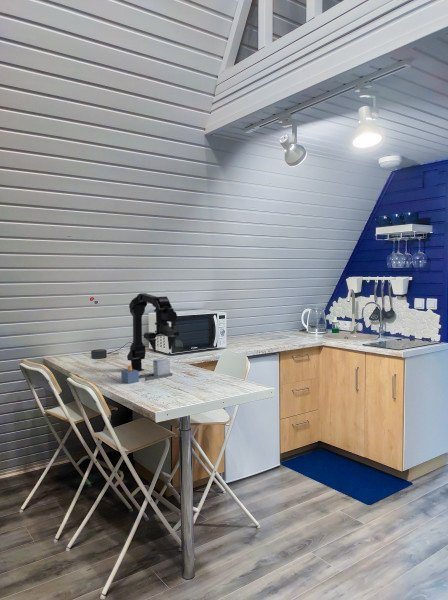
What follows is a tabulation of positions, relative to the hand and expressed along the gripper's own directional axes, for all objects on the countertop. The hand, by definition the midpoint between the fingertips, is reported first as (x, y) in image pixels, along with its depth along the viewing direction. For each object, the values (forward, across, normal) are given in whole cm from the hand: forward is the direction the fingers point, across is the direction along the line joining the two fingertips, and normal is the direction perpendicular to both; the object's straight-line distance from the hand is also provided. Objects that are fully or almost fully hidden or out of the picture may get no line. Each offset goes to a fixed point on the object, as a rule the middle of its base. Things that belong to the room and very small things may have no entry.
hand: (162, 350), depth 233 cm
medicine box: (+15, +3, +6) cm, 16 cm away
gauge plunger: (+11, -16, +6) cm, 20 cm away
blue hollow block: (+15, -16, +6) cm, 22 cm away
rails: (+15, -1, +6) cm, 16 cm away
